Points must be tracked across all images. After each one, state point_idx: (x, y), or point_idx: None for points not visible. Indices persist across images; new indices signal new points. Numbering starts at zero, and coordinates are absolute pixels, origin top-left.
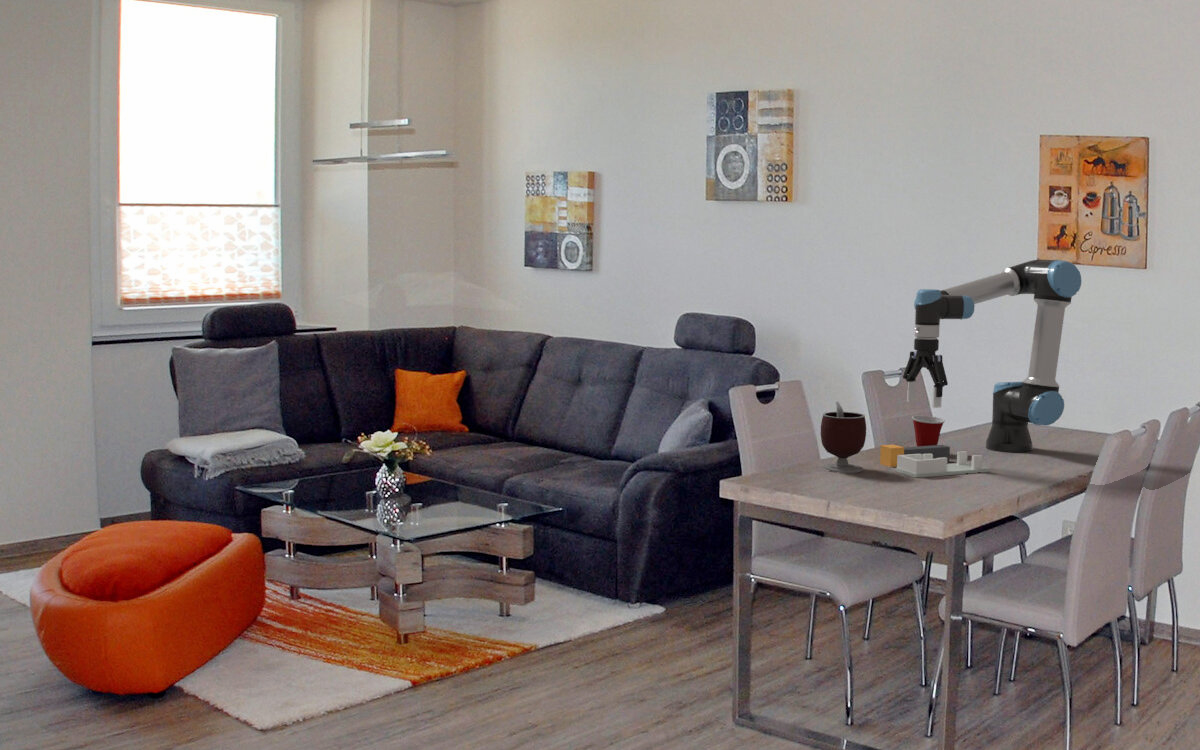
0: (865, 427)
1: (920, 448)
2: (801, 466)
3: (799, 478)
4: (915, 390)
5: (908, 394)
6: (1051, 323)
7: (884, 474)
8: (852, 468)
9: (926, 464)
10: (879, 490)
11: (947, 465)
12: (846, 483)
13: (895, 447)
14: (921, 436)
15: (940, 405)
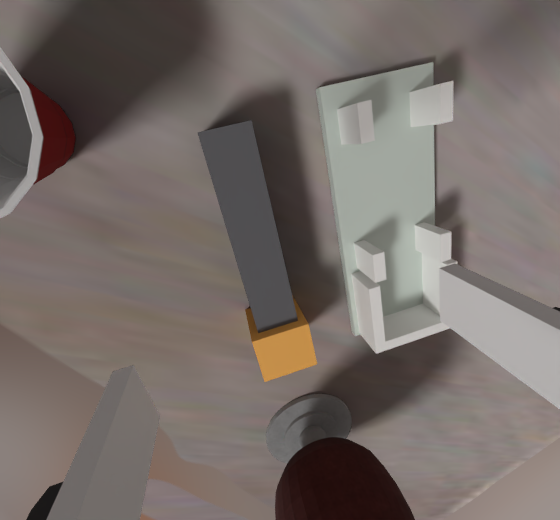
0: (395, 502)
1: (276, 256)
2: (269, 491)
3: None
4: (98, 461)
5: (146, 476)
6: None
7: (381, 360)
8: (332, 417)
9: None
10: (499, 392)
11: (356, 186)
12: (434, 431)
13: (307, 349)
14: (40, 177)
15: (464, 273)
